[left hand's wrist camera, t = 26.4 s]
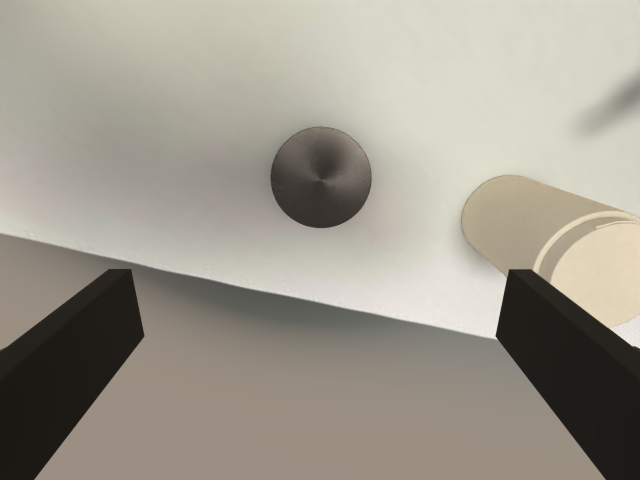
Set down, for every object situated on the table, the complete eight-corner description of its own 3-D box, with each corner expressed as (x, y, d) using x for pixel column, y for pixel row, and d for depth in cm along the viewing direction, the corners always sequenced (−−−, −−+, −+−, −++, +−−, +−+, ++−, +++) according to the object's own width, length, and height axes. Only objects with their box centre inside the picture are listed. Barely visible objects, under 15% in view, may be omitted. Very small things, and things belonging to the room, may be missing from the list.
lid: (320, 104, 34) (320, 104, 33) (389, 176, 37) (392, 179, 35) (253, 178, 37) (250, 181, 35) (322, 241, 39) (322, 246, 38)
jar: (549, 240, 39) (678, 315, 25) (469, 263, 40) (550, 348, 26) (539, 163, 36) (679, 198, 22) (453, 190, 37) (535, 241, 23)
